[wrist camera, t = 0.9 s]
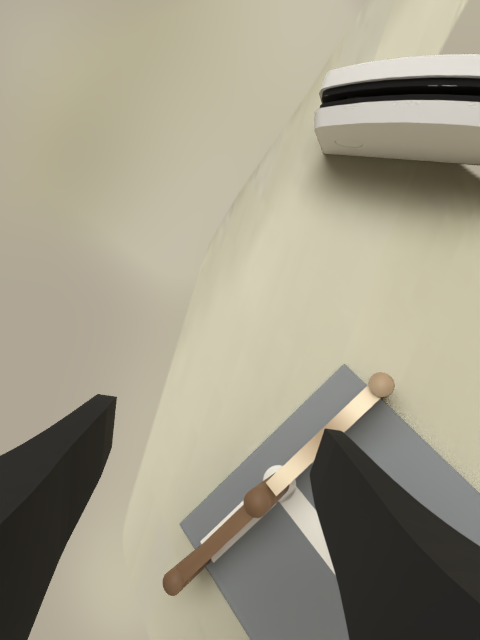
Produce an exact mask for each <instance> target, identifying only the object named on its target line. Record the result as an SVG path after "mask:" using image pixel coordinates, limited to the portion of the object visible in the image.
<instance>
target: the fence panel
mask: <svg viewBox="0 0 480 640" xmlns="http://www.w3.org/2000/svg"><path fill="white" fill-rule="evenodd" d="M394 387H395V384H394V381H393V379H392V377H391V376H389V375H388V374H386V373H382V372H380V373H376V374H374V375H372V376H371V378H370V380H369V385H368V386H367V387H365V388H364V389H363V390H362V391H361V392H360V393H359V394H358V395H357V396H356V397H355V398H354V399H353V400H352V401H351V402H350V403H349V404H348V405H347V406H346V407H344V408H343V409H342V410H341V411H340V412H339V413H338V414H337V415H336V416H335V417H334V418H333V419H332V420H331V421H330V422H329V423H328V424H327V425H326V426H325V427H323V428H322V429H321V430H320V431H319V432H318V433H317V434H316V435H315V436H314V437H313V438H312V439H311V440H310V441H309V442H308V443H307V444H306V445H305V446H304V447H303V448H301V449H300V450H299V451H298V452H297V453H296V454H295V455H294V456H293V457H292V458H291V459H290V460H289V461H288V462H287V463H286V464H285V465H284V466H283V467H282V468H280V469H279V470H278V471H277V472H276V473H275V474H274V475H273V476H272V477H271V478H270V479H269V480H268V481H267V482H266V484H267V485H268V486H269V488H270V489H271V490H272V491H273V493H274V494H275V495H276V496H277V495H278V494H279V493H280V492H282V491H283V490H284V489H285V488H286V487H287V486H288V485H289V484H290V483H291V482H292V481H293V480H294V479H295V478H296V477H297V476H298V475H300V474H301V473H302V472H303V471H304V470H305V469H306V468H307V467H308V466H309V465H310V464H311V463H312V462H313V461H314V459H315V456H316V453H317V450H318V447H319V444H320V441H321V438H322V435H323V432H324V429H325V428H326V429H333V430H340V431H342V432H345V431H346V430H347V429H348V428H349V427H351V426H352V425H353V424H354V423H355V422H356V421H357V420H358V419H359V418H360V417H361V416H362V415H363V414H364V413H365V412H366V411H368V410H369V409H370V408H371V407H372V406H373V405H374V404H375V403H376V402H377V401H378V400H379V399H380V398H381V397H385V396H388V395H390V394H391V393H392V392H393V390H394Z"/></svg>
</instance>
